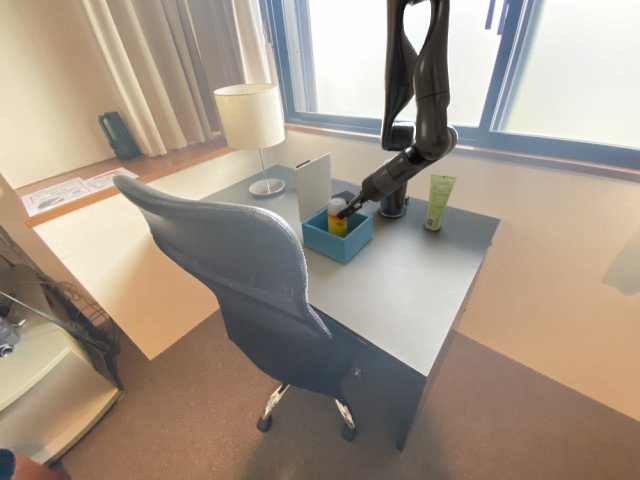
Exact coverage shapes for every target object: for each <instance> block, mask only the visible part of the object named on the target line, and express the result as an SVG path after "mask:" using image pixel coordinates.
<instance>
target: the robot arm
mask: <svg viewBox="0 0 640 480" xmlns="http://www.w3.org/2000/svg"><path fill="white" fill-rule="evenodd" d="M425 3H429V21H428V27H427V30H426V34H425V37H424V39H423V42H422V45H421V47H420V49H419V50H418V48H417V47H416V45H415V43H414V42H413V40H412V38H411V37H410V35H409V32H408V29H407V27H406V22H405V20H406V19H405V18H406V17H405V15H406V10H407V9H408V8H412V7H414V6H415V7H416V6H418V5H421V4H425ZM450 16H451V0H386V48H385V63H384V75H383V76H384V77H383V111H382V121H381V128H380V129H381V130H380V147H381V150H383V151H384V152H390V153H396V152H397V154H395V155H394V156H393V157H390V158H387V159H386V160H385V161H384V162H383V163H382V164H381V165H380V166H379V167H378V168H377V169H375V170H374V171H373V172H371V173H370V174H369V175H368V176H366V177H365V178H364V179H363V180H362V181H361V188H360V190H359V191H358V192H356V194H355V195H356V196H355V197H353V198H352V199H351V200H350V201H349V202H348V203H349V204H347V206H346V207H345V208H344V209H343V210H342V211H340V212H339V213H338V214H337V217H338V218H339V219H340V220H342V219H344V218H345V217H347V218H348V217H350V216H351V215H352V214H354V213H355V212H359V210H361V209H362V208H363V207H364V206H366V205H368V203H369V202H370V201H371V202H373V203H379V211H378V212H379V213H380V215H381V216H384V217H386V218H399V217H402V216H403V215H404V213H405V205H407V204H409V202H410V195H407V191H408V182H409V181H410V180H411V179H413V178H414V177H416V176H417V175H418V174H419V173H420V172H421V171H423V170H425V169H426V168H428V167H430V166H431V165H433V164H435V163H436V162H438V161H439V160H441V159H443V158H444V157H446V156H447V155H449V154H450V153H451V152H453V151H454V149H455V148H456V146H457V144H458V140H459V135H458V132H457V130H456V128H454V127H453V126H452V125H450V124H448V123H449V122H448V109H449V107H450V106H451V103H452V102H451V100H452V93H451V82H450V70H449V68H450V67H449V36H450V35H449V33H450V20H451V19H450ZM413 99H414V102H415V107H416V115H415V123H414V122H412V121H396V119H397V118H398V116H399V115H400V113H401V112H402V111H403V110H404V109H405V108H407V106H408V105H409V104H410V103H411V102H412V100H413Z"/></svg>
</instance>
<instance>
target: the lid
mask: <svg viewBox="0 0 640 480" xmlns="http://www.w3.org/2000/svg"><path fill="white" fill-rule="evenodd" d="M331 168H332V167H331V152H326V153H324V154H323V155H320V156H319V157H316V158H314V159H312V160H310V159H308V160H306V161H304V162H302V163H300V164H298V165H296V166H295V168H294V179H295V180H294V181H295V188H296V199H297V208H298V213H299V214H298V215H299V223H301V224H302V223H303V222H305V221H306V220H307V219H309V218H310V217H312V216H313V215H315V214H316V213H317V212H318V211H320V210H321V209H323V208H324V207H326V206H327V203H328V201H329V199H331V196H332V169H331Z"/></svg>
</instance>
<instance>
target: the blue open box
mask: <svg viewBox="0 0 640 480" xmlns="http://www.w3.org/2000/svg"><path fill="white" fill-rule="evenodd" d="M372 231H373V216H371V215H368V214H366V213H363V212H359V211H356V212H355V213H354V214H352V215H351V216H350V217H348V218H347V236H346V237H345V238H341V237H339V236H336V235H334V234H331V233H329V230H328V213H327V206H326V207H325V208H323V209H322V210H320V211H319V212H318V213H315V214H314V215H313V216H311V217H310V218H308V219H307V220H305V221H304V222H302V223H301V233H302V241H303V246H304V247H305V248H309V249H311V250H312V251H315V252H317V253H319V254H322V255H324V256H326V257H328V258H330V259H332V260H334V261H337V262H339V263H341V264H343V265H346V264H347V263H348V262H349V261H350V260H351V259H352V258H353V257H354V256H355V255H356V254H357V253H358V252H360V250H362V248H364V247H365V246H366V245H367V244H368V243H369V242H370V241H371V240H372V235H373V233H372Z"/></svg>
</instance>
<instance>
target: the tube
mask: <svg viewBox="0 0 640 480" xmlns="http://www.w3.org/2000/svg"><path fill="white" fill-rule="evenodd" d="M457 178H458V177H457V176H452V175H451V176H450V175H442V174H441V175H439V174H432V173H431V174H430V189H429V197H428V204H427V209H426V210H427V211H426V217H425V223H424V228H425V229H427V230H429V231H438V230H440V227H441V223H442V221H443V217H444V214H445V211H446V207H447V205H448V201H449V199H450V196H451V193H452V190H453V188H454V185H455V183H456V181H457Z"/></svg>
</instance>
